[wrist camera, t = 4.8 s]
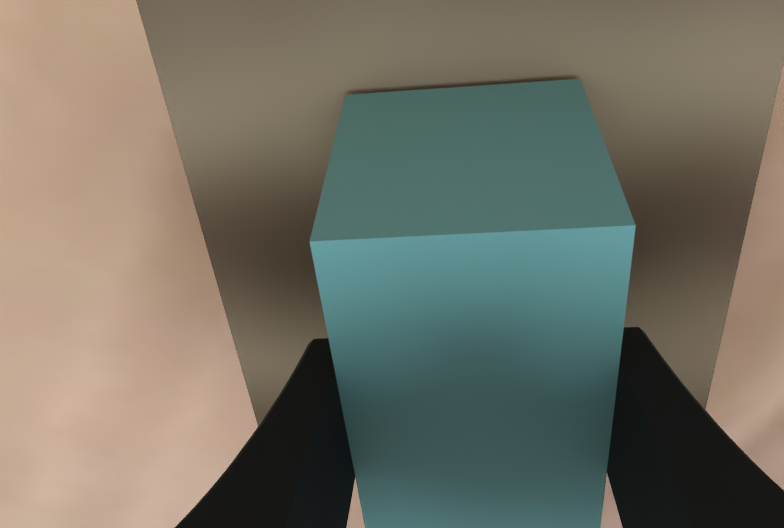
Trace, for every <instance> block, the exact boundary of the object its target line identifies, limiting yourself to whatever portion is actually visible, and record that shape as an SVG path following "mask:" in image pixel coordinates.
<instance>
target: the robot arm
mask: <svg viewBox="0 0 784 528" xmlns="http://www.w3.org/2000/svg"><path fill="white" fill-rule="evenodd" d="M607 473H608V477H609V481H610V484H611V488H612V491H613V495H614V498H615V502H616V505H617V509H618V512H619V516H620V519H621V523H622V526H623V528H784V490H783V489H781V488H780V487H779V486H778V485H777V484H776V483H775V482H774V481H773V480H772V479H770V478H769V477H768V476H767V475H766V474H765V473H764V472H763V471H762V470H761V469H760V468H759V467H758V466H757V465H756V464H755V463H754V462H753V461H752V460H751V459H750V458H749V457H748V456H747V455H746V454H745V453H744V452H743V451H742V450H741V449H740V448H739V447H738V446H737V445H736V444H735V443H734V441H733V440H732V439H731V438H730V437H729V436H728V435H727V434H726V433H725V432H724V431H723V430H722V429H721V428H720V426H719V425H718V424H717V423H716V422H715V421H714V420H713V419H712V417H711V416H710V415H709V414H708V413H707V412H706V410H705V409H704V408H703V407H702V406H701V405H700V403H699V402H698V401H697V400H696V399H695V398H694V396H693V395H692V394H691V393H690V392H689V390H688V389H687V388H686V387H685V386H684V384H683V383H682V382H681V381H680V379H679V378H678V377H677V375H676V374H675V373H674V372H673V370H672V369H671V368H670V366H669V365H668V364H667V362H666V361H665V360H664V358H663V357H662V356H661V354H660V353H659V352H658V350H657V349H656V348H655V346H654V345H653V343H652V342H651V341H650V339H649V338H648V336H647V335H646V333H645V332H644V331H643V330H642V329H641V328H640V327H624V330H623V338H622V347H621V355H620V364H619V372H618V381H617V389H616V398H615V406H614V415H613V423H612V432H611V440H610V449H609V457H608V466H607ZM354 480H355V472H354V467H353V462H352V457H351V452H350V447H349V442H348V436H347V431H346V426H345V421H344V416H343V411H342V406H341V401H340V395H339V390H338V385H337V380H336V375H335V370H334V365H333V359H332V354H331V349H330V344H329V339H328V338H319V339H313V340H312V341H311V342H310V343H309V344H308V346H307V348H306V349H305V351H304V353H303V355H302V357H301V359H300V361H299V362H298V364H297V366H296V368H295V369H294V371H293V373H292V375H291V376H290V378H289V380H288V381H287V383H286V385H285V386H284V388H283V390H282V391H281V393H280V395H279V396H278V398H277V399H276V401H275V402H274V404H273V405H272V407H271V408H270V410H269V411H268V413H267V414H266V416H265V417H264V419H263V421H262V422H261V424H260V425H259V426H258V428H257V429H256V431H255V432H254V434H253V435H252V436H251V438H250V439H249V440H248V442H247V443H246V444H245V446H244V447H243V448H242V450H241V451H240V452H239V454H238V455H237V457H236V458H235V459H234V461H233V462H232V463H231V465H230V466H229V467H228V468H227V470H226V471H225V472H224V473H223V474H222V476H221V477H220V478H219V479H218V481H217V482H216V483H215V484H214V485H213V487H212V488H211V489H210V490H209V491H208V492H207V493H206V495H205V496H204V497H203V498H202V499H201V500H200V501H199V503H198V504H197V505H196V506H195V507H194V508H193V509H192V510H191V511H190V512H189V513H188V514H187V515H186V517H185V518H184V519H183V520H182V521H181V522H180V523H179V524H178V525H177V526H176V527H175V528H346V526H347V520H348V514H349V509H350V503H351V497H352V491H353V486H354Z"/></svg>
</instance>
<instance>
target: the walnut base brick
mask: <svg viewBox="0 0 784 528" xmlns="http://www.w3.org/2000/svg"><path fill="white" fill-rule="evenodd" d="M136 1H137V5H138V8H139V12H140V15H141V19H142V22H143V26H144V29H145V33H146V36H147V40H148V43H149V47H150V50H151V54H152V57H153V61H154V64H155V68H156V71H157V74H158V78H159V81H160V85H161V88H162V92H163V95H164V99H165V102H166V106H167V109H168V113H169V116H170V120H171V123H172V127H173V130H174V134H175V137H176V141H177V144H178V148H179V151H180V155H181V158H182V162H183V165H184V169H185V172H186V176H187V179H188V183H189V186H190V190H191V193H192V197H193V200H194V204H195V207H196V211H197V214H198V218H199V221H200V225H201V228H202V232H203V235H204V239H205V242H206V246H207V249H208V253H209V256H210V260H211V263H212V267H213V270H214V274H215V277H216V280H217V284H218V287H219V291H220V294H221V298H222V301H223V305H224V308H225V312H226V315H227V319H228V322H229V326H230V329H231V333H232V336H233V340H234V343H235V347H236V350H237V354H238V357H239V361H240V364H241V368H242V371H243V375H244V378H245V382H246V385H247V389H248V392H249V396H250V399H251V403H252V406H253V410H254V413H255V417H256V420H257V424H258V426H259V425H260V424H261V422H262V421H263V419H264V417H265V416H266V414H267V413H268V411H269V410H270V408H271V407H272V405H273V404H274V402H275V401H276V399H277V398H278V396H279V395H280V393H281V391H282V390H283V388H284V386H285V385H286V383H287V381H288V380H289V378H290V376H291V375H292V373H293V371H294V369H295V368H296V366H297V364H298V362H299V361H300V359H301V357H302V355H303V353H304V351H305V349H306V348H307V346H308V344H309V343H310V342H311V341H312V340H313V339H319V338H328V334H327V329H326V324H325V318H324V313H323V308H322V303H321V298H320V293H319V288H318V282H317V277H316V272H315V267H314V262H313V257H312V252H311V247H310V237H311V233H312V229H313V225H314V221H315V217H316V213H317V209H318V205H319V200H320V196H321V192H322V188H323V184H324V180H325V176H326V172H327V168H328V163H329V159H330V155H331V151H332V147H333V143H334V139H335V135H336V131H337V126H338V122H339V118H340V114H341V110H342V106H343V102H344V98H345V95H349V94H364V93H378V92H393V91H408V90H422V89H437V88H452V87H466V86H481V85H495V84H510V83H525V82H539V81H554V80H568V79H581V82H582V85H583V87H584V90H585V93H586V95H587V98H588V100H589V103H590V106H591V108H592V111H593V114H594V116H595V119H596V122H597V124H598V127H599V130H600V132H601V135H602V137H603V140H604V143H605V145H606V148H607V151H608V153H609V156H610V159H611V161H612V164H613V166H614V169H615V172H616V174H617V177H618V180H619V182H620V185H621V188H622V190H623V193H624V196H625V198H626V201H627V203H628V206H629V209H630V211H631V214H632V217H633V219H634V222H635V225H636V228H635V236H634V245H633V253H632V262H631V270H630V279H629V287H628V296H627V304H626V313H625V321H624V327H640V328H641V329H642V330H643V331H644V332H645V333H646V335H647V336H648V338H649V339H650V341H651V342H652V343H653V345H654V346H655V348H656V349H657V350H658V352H659V353H660V354H661V356H662V357H663V358H664V360H665V361H666V362H667V364H668V365H669V366H670V368H671V369H672V370H673V372H674V373H675V374H676V375H677V377H678V378H679V379H680V381H681V382H682V383H683V384H684V386H685V387H686V388H687V389H688V390H689V392H690V393H691V394H692V395H693V396H694V398H695V399H696V400H697V401H698V402H699V403H700V405H701V406H702V407H703V408H704V409H705V408H706V404H707V399H708V395H709V390H710V386H711V381H712V377H713V373H714V368H715V364H716V359H717V355H718V350H719V346H720V341H721V337H722V333H723V328H724V324H725V319H726V315H727V310H728V306H729V301H730V297H731V293H732V288H733V284H734V279H735V275H736V270H737V266H738V261H739V257H740V253H741V248H742V244H743V239H744V235H745V230H746V226H747V221H748V217H749V213H750V208H751V204H752V199H753V195H754V190H755V186H756V181H757V177H758V173H759V168H760V164H761V159H762V155H763V150H764V146H765V142H766V137H767V133H768V128H769V124H770V119H771V115H772V110H773V106H774V102H775V97H776V93H777V88H778V84H779V79H780V75H781V70H782V66H783V62H784V0H136Z"/></svg>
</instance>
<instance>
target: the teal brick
mask: <svg viewBox="0 0 784 528" xmlns="http://www.w3.org/2000/svg"><path fill="white" fill-rule="evenodd" d="M635 228H636V225H635V222H634V219H633V217H632V214H631V211H630V209H629V206H628V203H627V201H626V198H625V196H624V193H623V190H622V188H621V185H620V182H619V180H618V177H617V174H616V172H615V169H614V166H613V164H612V161H611V159H610V156H609V153H608V151H607V148H606V145H605V143H604V140H603V137H602V135H601V132H600V130H599V127H598V124H597V122H596V119H595V116H594V114H593V111H592V108H591V106H590V103H589V100H588V98H587V95H586V93H585V90H584V87H583V85H582V82H581V79H568V80H554V81H539V82H525V83H510V84H495V85H481V86H466V87H452V88H437V89H422V90H408V91H393V92H378V93H364V94H349V95H345V98H344V102H343V106H342V110H341V114H340V118H339V122H338V126H337V131H336V135H335V139H334V143H333V147H332V151H331V155H330V159H329V163H328V168H327V172H326V176H325V180H324V184H323V188H322V192H321V196H320V200H319V205H318V209H317V213H316V217H315V221H314V225H313V229H312V233H311V237H310V247H311V252H312V257H313V262H314V267H315V272H316V277H317V282H318V288H319V293H320V298H321V303H322V308H323V313H324V318H325V324H326V329H327V334H328V339H329V344H330V349H331V354H332V359H333V365H334V370H335V375H336V380H337V385H338V390H339V395H340V401H341V406H342V411H343V416H344V421H345V426H346V431H347V436H348V442H349V447H350V452H351V457H352V462H353V467H354V472H355V477H356V483H357V488H358V493H359V498H360V503H361V508H362V513H363V519H364V524H365V528H600V525H601V516H602V508H603V500H604V491H605V483H606V474H607V466H608V457H609V449H610V440H611V432H612V423H613V415H614V406H615V398H616V389H617V381H618V372H619V364H620V355H621V347H622V338H623V330H624V321H625V313H626V304H627V296H628V287H629V279H630V270H631V262H632V253H633V245H634V236H635Z"/></svg>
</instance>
